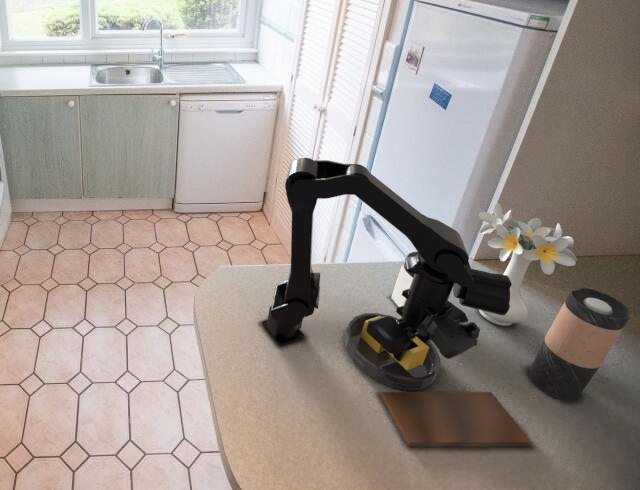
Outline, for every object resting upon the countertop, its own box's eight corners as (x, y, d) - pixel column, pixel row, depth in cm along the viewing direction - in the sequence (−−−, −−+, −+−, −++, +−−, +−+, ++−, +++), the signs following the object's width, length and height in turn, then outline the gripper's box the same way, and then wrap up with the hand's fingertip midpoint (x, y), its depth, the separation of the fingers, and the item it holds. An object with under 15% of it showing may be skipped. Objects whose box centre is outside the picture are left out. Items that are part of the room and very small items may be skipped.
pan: (391, 403, 81) (395, 391, 80) (326, 336, 95) (329, 324, 94) (455, 376, 86) (460, 364, 85) (385, 316, 100) (388, 305, 99)
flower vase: (478, 281, 110) (515, 193, 100) (557, 341, 94) (612, 243, 83) (433, 289, 108) (466, 199, 97) (506, 352, 91) (555, 252, 81)
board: (407, 446, 74) (409, 442, 74) (380, 396, 83) (381, 392, 82) (528, 446, 74) (531, 442, 74) (489, 396, 83) (491, 391, 82)
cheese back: (377, 353, 91) (383, 337, 89) (360, 336, 94) (365, 320, 92) (392, 347, 92) (398, 331, 90) (374, 331, 96) (379, 315, 94)
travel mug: (585, 409, 80) (639, 326, 72) (530, 389, 84) (575, 307, 75) (575, 377, 86) (623, 297, 78) (524, 359, 90) (565, 281, 81)
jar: (421, 324, 98) (438, 281, 93) (385, 301, 104) (398, 260, 99) (442, 307, 102) (458, 265, 97) (405, 286, 109) (419, 246, 103)
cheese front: (407, 370, 84) (413, 353, 83) (387, 351, 88) (392, 335, 86) (422, 364, 86) (429, 347, 84) (402, 346, 90) (408, 329, 88)
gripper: (431, 343, 70) (405, 409, 77) (512, 312, 76) (481, 376, 83) (374, 294, 80) (355, 357, 86) (449, 270, 86) (426, 331, 92)
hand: (405, 356), depth 87 cm, fingers closed on cheese front, 4 cm apart
